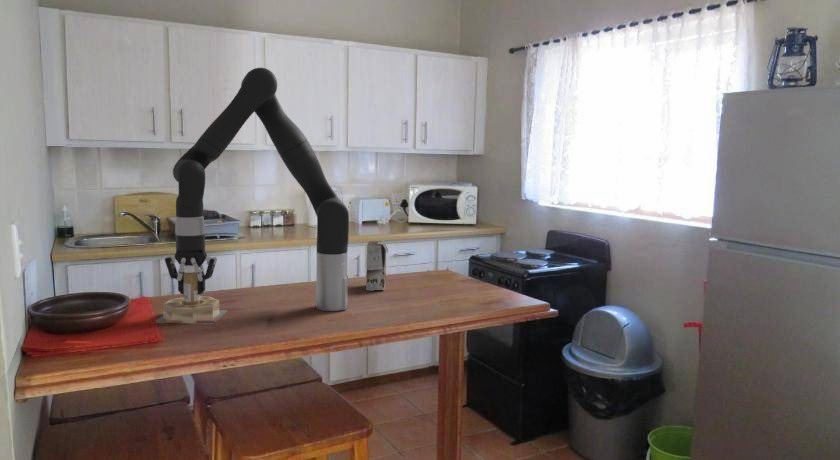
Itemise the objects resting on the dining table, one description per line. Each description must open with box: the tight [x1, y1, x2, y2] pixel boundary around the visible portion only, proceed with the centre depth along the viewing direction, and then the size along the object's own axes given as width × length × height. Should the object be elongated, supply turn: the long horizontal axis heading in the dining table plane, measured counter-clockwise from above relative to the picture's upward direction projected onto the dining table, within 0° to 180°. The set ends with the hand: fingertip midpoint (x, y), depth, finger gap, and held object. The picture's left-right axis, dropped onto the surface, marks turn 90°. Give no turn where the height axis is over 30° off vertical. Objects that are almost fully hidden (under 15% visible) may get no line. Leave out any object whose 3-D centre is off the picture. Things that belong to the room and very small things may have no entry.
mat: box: [155, 309, 229, 325], centre depth 168 cm, size 16×14×1 cm
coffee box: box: [365, 240, 387, 291], centre depth 210 cm, size 9×6×16 cm
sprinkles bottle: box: [183, 265, 201, 305], centre depth 167 cm, size 5×5×14 cm
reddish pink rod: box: [165, 319, 216, 324], centre depth 161 cm, size 12×1×1 cm, turn 101°
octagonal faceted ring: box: [162, 295, 220, 323], centre depth 167 cm, size 14×14×4 cm
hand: (191, 293), depth 167 cm, fingers closed on sprinkles bottle, 4 cm apart
